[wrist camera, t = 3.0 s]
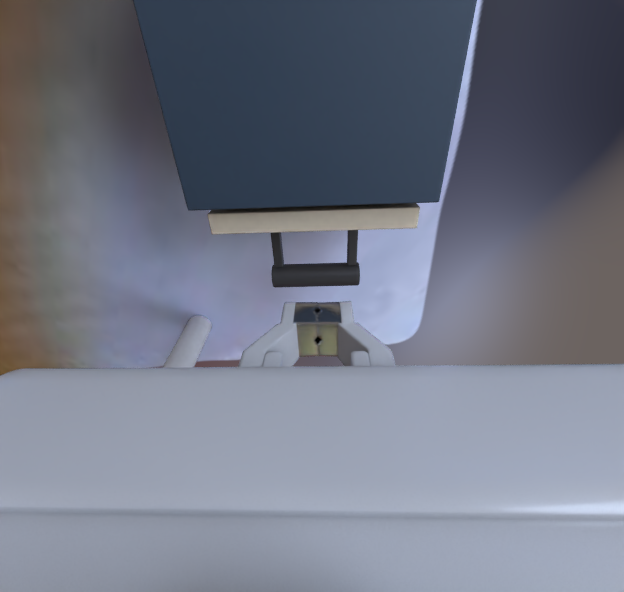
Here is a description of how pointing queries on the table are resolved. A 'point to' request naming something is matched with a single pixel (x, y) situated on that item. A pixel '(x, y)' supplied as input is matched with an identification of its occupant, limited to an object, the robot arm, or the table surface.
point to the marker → (189, 343)
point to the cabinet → (307, 97)
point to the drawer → (314, 221)
